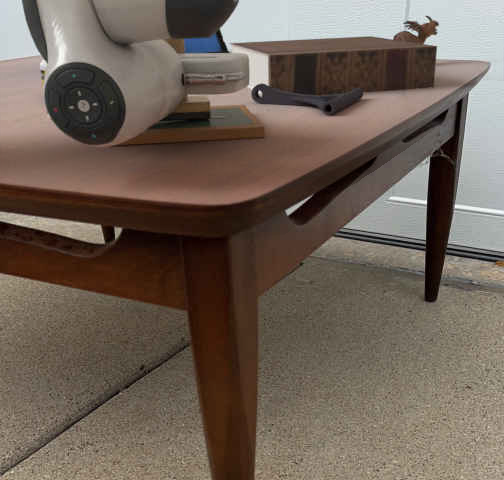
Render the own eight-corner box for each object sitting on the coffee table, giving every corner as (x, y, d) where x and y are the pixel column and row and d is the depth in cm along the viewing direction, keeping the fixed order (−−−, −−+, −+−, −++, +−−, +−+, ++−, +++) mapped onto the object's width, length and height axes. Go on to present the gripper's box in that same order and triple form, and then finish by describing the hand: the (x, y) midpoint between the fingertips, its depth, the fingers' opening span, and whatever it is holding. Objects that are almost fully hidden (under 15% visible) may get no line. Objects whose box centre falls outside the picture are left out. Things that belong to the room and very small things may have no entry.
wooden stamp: (144, 121, 83) (136, 32, 78) (144, 114, 87) (136, 29, 83) (210, 118, 84) (206, 30, 79) (206, 111, 88) (202, 27, 84)
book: (433, 88, 113) (437, 46, 110) (270, 100, 106) (270, 55, 103) (369, 72, 134) (370, 36, 131) (230, 80, 127) (228, 43, 124)
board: (107, 146, 77) (106, 134, 77) (111, 120, 92) (110, 110, 91) (264, 137, 80) (264, 126, 79) (244, 113, 94) (244, 103, 94)
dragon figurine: (411, 61, 146) (414, 14, 142) (435, 63, 143) (440, 15, 139) (374, 68, 137) (377, 18, 134) (399, 70, 134) (403, 18, 130)
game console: (195, 70, 141) (192, 22, 137) (159, 65, 151) (156, 20, 147) (253, 63, 150) (253, 18, 146) (216, 59, 159) (214, 17, 156)
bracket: (271, 95, 109) (271, 76, 107) (363, 99, 103) (364, 79, 102) (232, 111, 97) (231, 90, 96) (333, 116, 91) (334, 94, 90)
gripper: (238, 46, 68) (259, 36, 81) (44, 49, 71) (93, 38, 84) (240, 111, 71) (260, 91, 83) (53, 111, 74) (99, 92, 86)
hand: (175, 65), depth 84 cm, fingers closed on wooden stamp, 3 cm apart
